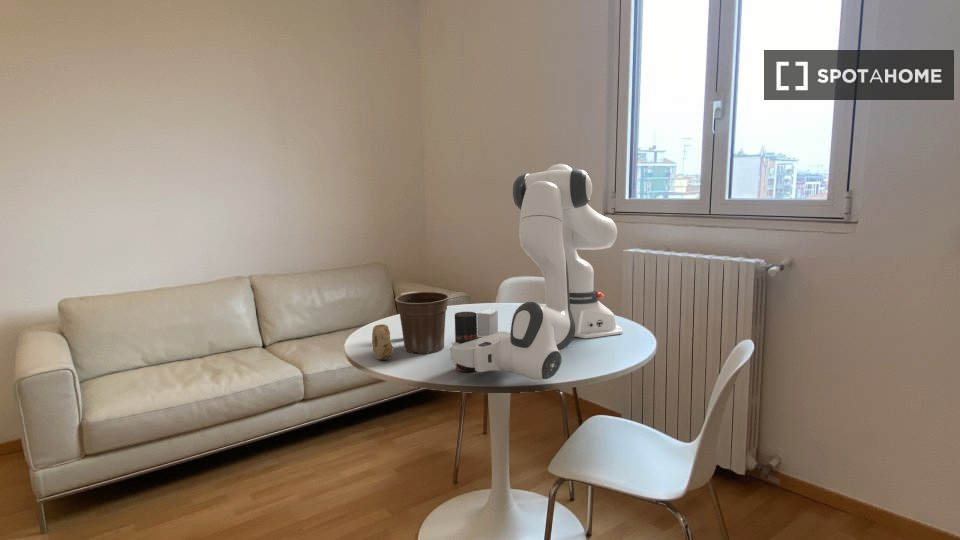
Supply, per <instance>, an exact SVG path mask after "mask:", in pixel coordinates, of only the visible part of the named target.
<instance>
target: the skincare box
mask: <svg viewBox="0 0 960 540" xmlns="http://www.w3.org/2000/svg"><path fill="white" fill-rule="evenodd" d="M498 312H499V311H498V310H497V309H489V308H485V309H484V310H481V311H479V312H476V313H477V336H488V335H491V334H494V333H498V332H499V331H498V329H499V328H498V327H499V326H498V325H499V323H498V322H499V320H498V318H499V313H498Z"/></svg>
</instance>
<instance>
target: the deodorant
mask: <svg viewBox="0 0 960 540" xmlns="http://www.w3.org/2000/svg"><path fill="white" fill-rule="evenodd" d="M477 313H478V312H474V311H458V312H455V313H454V339H455V341H454V342H457V341H458V342H461V344H462V343H465V342H469V341H472V340H475V339H477ZM455 369H456V370H457V371H459V372H465V373H468V372H474V371H475V368H470V367H465V366H462V365H459V364H457V363H455Z"/></svg>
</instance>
